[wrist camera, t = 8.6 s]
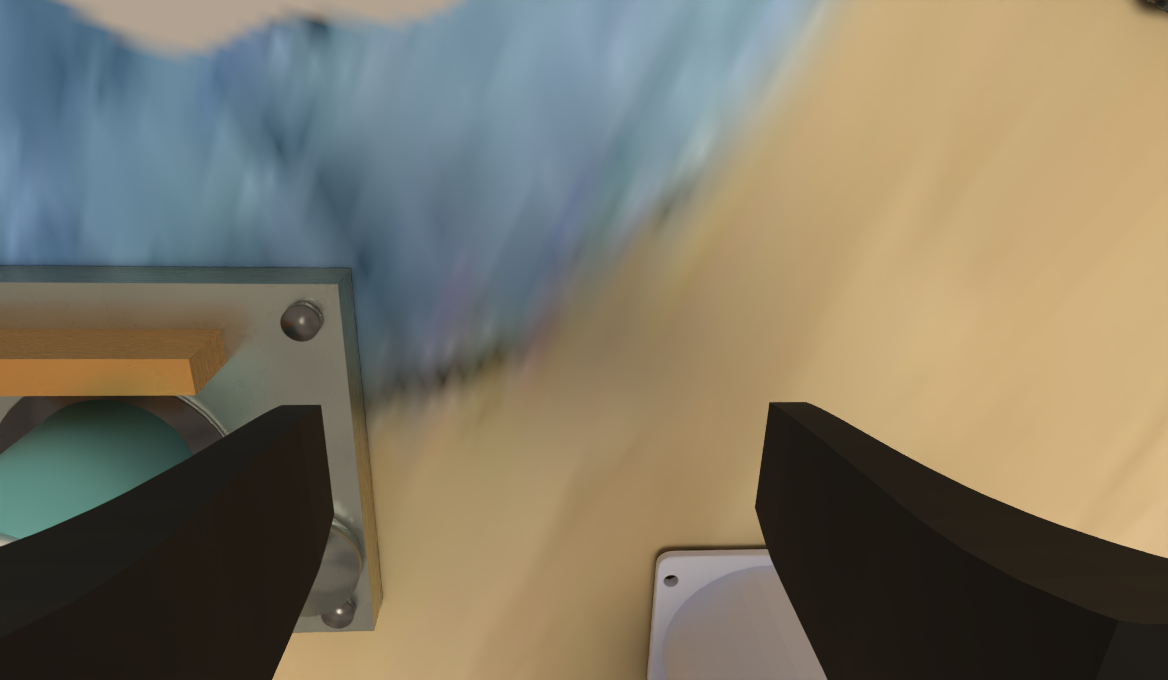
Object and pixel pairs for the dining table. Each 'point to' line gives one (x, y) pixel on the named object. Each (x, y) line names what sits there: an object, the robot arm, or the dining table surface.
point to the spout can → (81, 463)
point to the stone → (1160, 4)
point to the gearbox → (206, 377)
